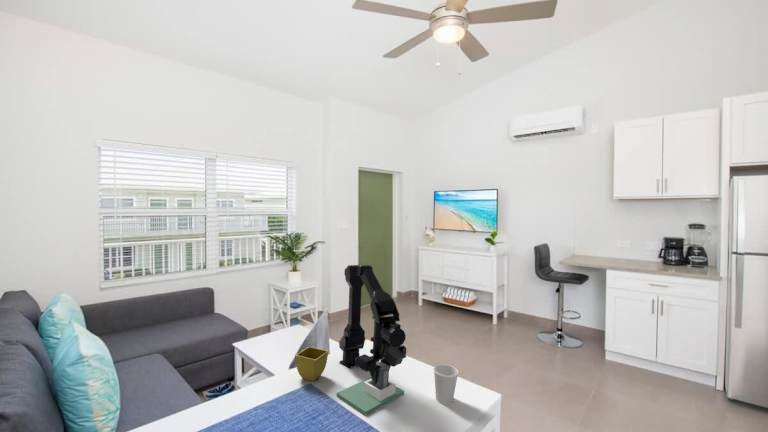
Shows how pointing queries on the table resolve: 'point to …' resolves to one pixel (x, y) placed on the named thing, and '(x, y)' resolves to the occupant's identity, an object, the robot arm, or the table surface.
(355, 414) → the table surface
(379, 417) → the table surface
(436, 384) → the dixie cup
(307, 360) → the flower pot
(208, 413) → the table surface
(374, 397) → the board
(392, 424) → the table surface
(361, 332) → the robot arm
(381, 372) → the plug
